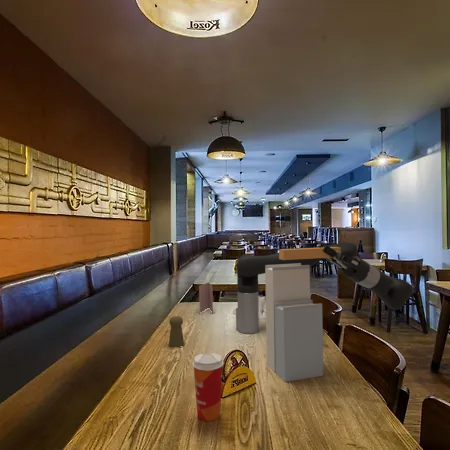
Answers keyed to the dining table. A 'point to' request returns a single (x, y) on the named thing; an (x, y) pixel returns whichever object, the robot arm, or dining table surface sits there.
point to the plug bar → (304, 253)
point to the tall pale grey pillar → (283, 296)
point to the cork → (176, 332)
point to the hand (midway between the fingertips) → (321, 248)
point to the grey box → (298, 340)
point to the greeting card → (205, 297)
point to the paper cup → (208, 385)
